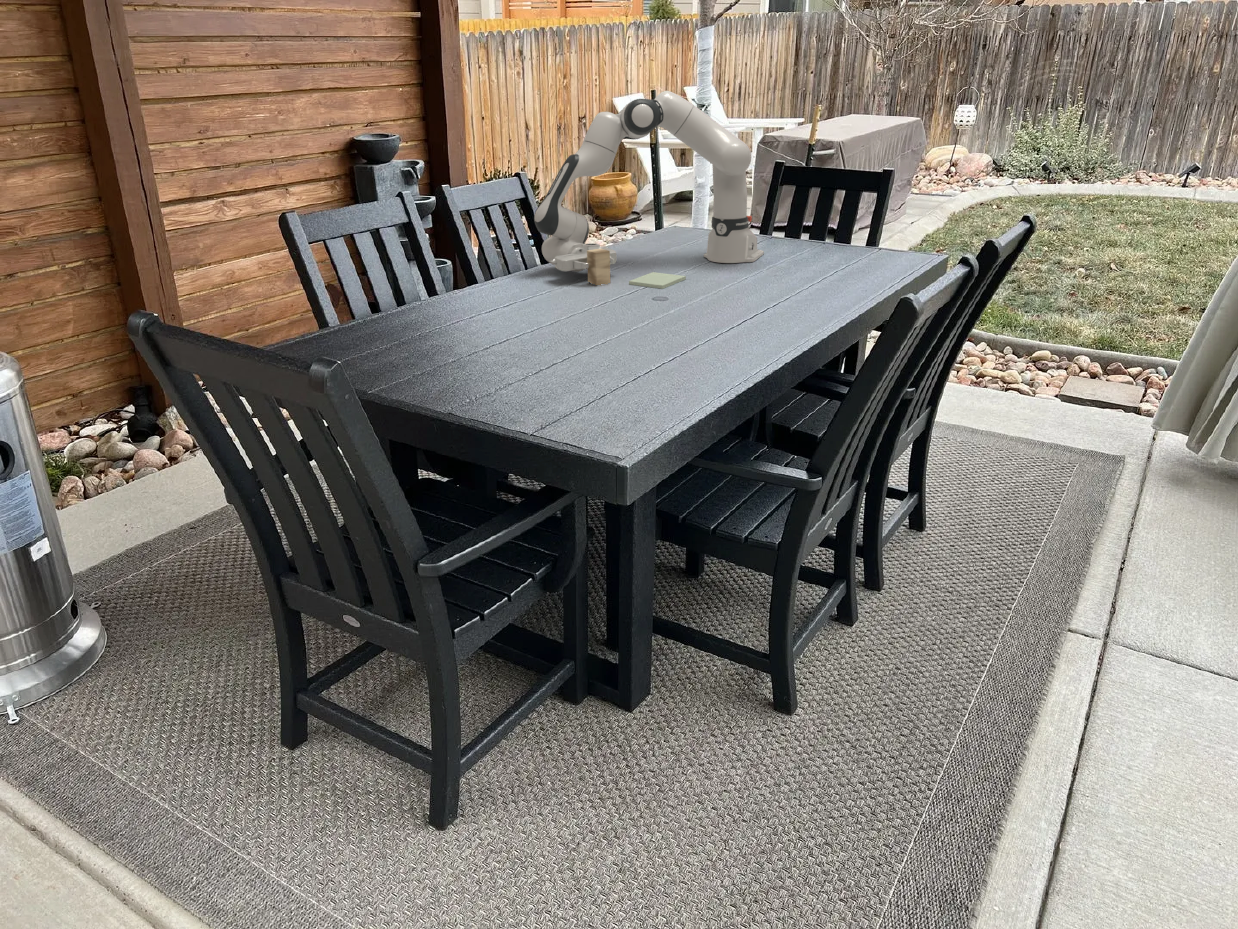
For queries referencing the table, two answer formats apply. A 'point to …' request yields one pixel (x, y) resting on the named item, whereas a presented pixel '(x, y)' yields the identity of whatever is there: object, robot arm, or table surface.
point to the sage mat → (657, 280)
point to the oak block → (598, 266)
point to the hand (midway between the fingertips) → (599, 264)
